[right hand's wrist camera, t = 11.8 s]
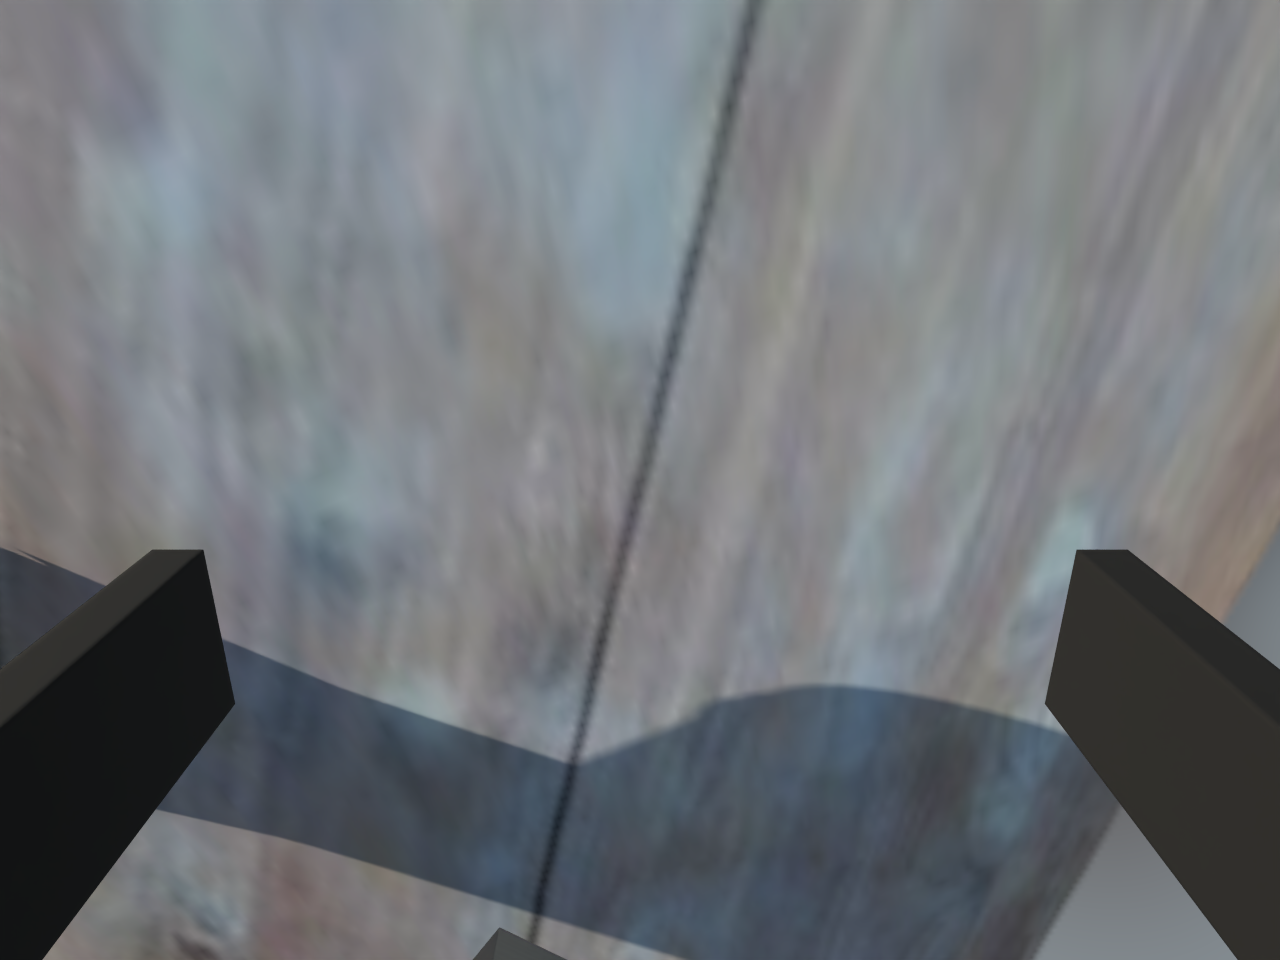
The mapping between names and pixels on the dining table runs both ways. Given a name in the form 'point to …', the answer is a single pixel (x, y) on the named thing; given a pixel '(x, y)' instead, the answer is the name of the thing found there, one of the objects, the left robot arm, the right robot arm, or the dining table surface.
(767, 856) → the dining table surface
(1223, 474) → the dining table surface
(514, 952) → the bar
